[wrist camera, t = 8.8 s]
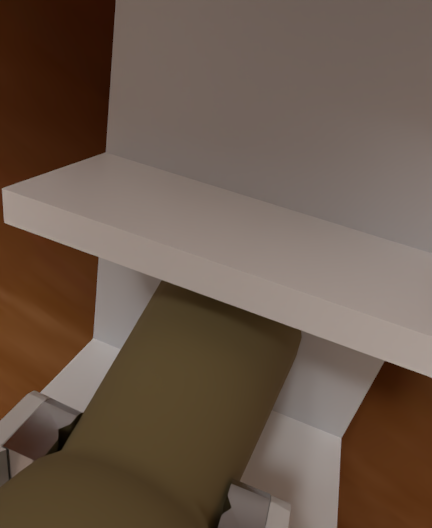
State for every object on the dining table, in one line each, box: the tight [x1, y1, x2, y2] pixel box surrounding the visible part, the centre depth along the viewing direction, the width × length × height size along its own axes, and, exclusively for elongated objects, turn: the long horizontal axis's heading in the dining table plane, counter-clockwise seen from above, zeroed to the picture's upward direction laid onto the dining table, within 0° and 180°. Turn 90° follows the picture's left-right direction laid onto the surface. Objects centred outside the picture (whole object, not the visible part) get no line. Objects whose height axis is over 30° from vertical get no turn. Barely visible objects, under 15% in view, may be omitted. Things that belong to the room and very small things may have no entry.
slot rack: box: [2, 0, 432, 528], centre depth 14 cm, size 28×12×6 cm, turn 167°
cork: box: [0, 280, 302, 528], centre depth 11 cm, size 6×6×11 cm
